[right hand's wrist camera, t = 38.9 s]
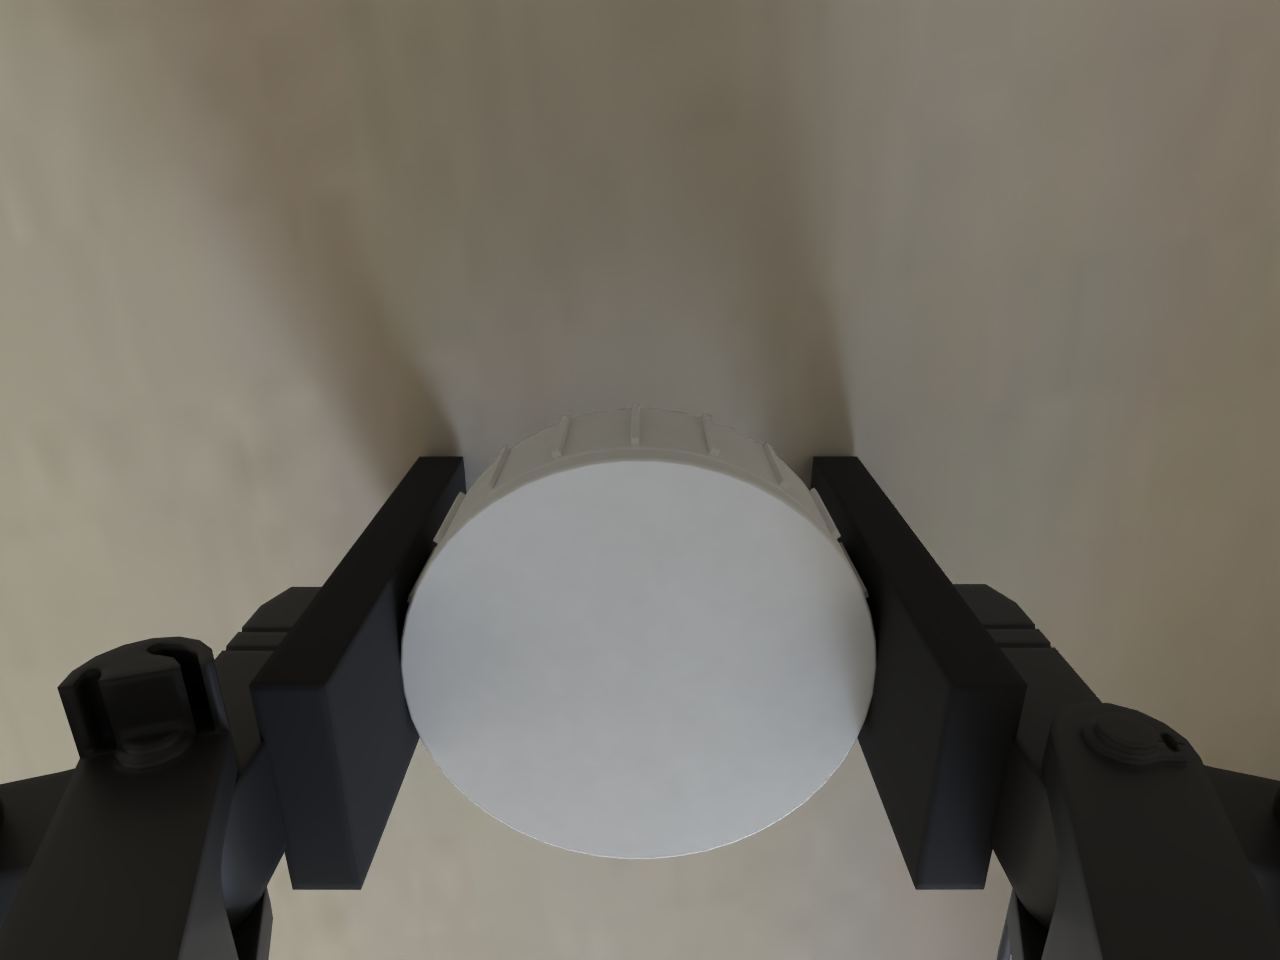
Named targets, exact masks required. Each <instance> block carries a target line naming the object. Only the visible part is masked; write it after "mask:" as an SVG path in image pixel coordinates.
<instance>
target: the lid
mask: <svg viewBox="0 0 1280 960" xmlns="http://www.w3.org/2000/svg"><path fill="white" fill-rule="evenodd" d="M840 536H841V535H840V533H839V531H838V529H837V528H836V526H835V524H834V522H833V520H832V518H831V516H830V515H829V513H828V511H827V509H826V507H825V505H824V503H823V501H822V500H821V498H820V496H819V494H818V492H817V491H816V489H815V488H812V489H811V490H808V488H807V487H806V486H805V484H804V483H803V482H802V480H801V479H800V478H799V477H798V476H797V475H796V474H795V473H794V472H793V471H792V470H791V469H790V468H789V467H788V466H787V465H786V464H785V463H784V462H783V461H782V460H781V459H779V458H778V457H777V456H776V454H775V452H774V450H773V447H772V446H771V445H769V444H768V443H766V444H765V445H764V446H762V445H761V444H759V443H758V442H756V441H754V440H752V439H751V438H749V437H747V436H745V435H743V434H742V433H740V432H738V431H736V430H734V429H731V428H729V427H726V426H724V425H721V424H719V423H716V422H714V421H712V420H711V416H710V415H707V414H703V415H702V418H701V417H697V416H693V415H689V414H685V413H681V412H673V411H665V410H657V409H640V405H639V404H638V405H632V409H620V410H613V411H605V412H597V413H592V414H588V415H584V416H581V417H577V418H573V419H570V417H569V415H567V416H564V417H562V418H561V421H560V423H558V424H556V425H553V426H551V427H548V428H546V429H543V430H541V431H539V432H538V433H536V434H534V435H532V436H530V437H529V438H527V439H525V440H523V441H522V442H520V443H518V444H516V445H515V446H514V447H512V448H511V449H509V448H508V447H507V446H505V447H504V448H503V449H501V451H500V453H499V455H498V457H497V459H496V460H495V461H494V462H493V463H492V464H491V465H490V466H489V467H488V468H487V469H486V470H485V471H484V472H483V473H482V474H481V475H480V476H479V477H478V478H477V480H476V481H475V482H474V484H473V485H472V486H471V488H470V489H469V490H468V492H467V493H466V494H464V493H462V492H460V493H459V494H458V496H457V497H456V499H455V501H454V503H453V505H452V507H451V508H450V510H449V512H448V514H447V516H446V518H445V519H444V521H443V523H442V525H441V527H440V529H439V530H438V532H437V534H436V536H435V538H434V540H433V541H434V542H436V543H438V545H437V547H434V549H433V551H432V553H431V555H430V557H429V558H428V560H427V562H426V564H425V566H424V568H423V570H422V572H421V573H420V575H419V577H418V579H417V581H416V583H415V585H414V587H413V589H412V590H411V592H410V594H409V596H408V601H407V602H408V603H409V606H408V609H407V612H406V616H405V622H404V627H403V632H402V638H401V673H402V681H403V689H404V695H405V698H406V701H407V705H408V708H409V712H410V715H411V719H412V721H413V723H414V725H415V727H416V730H417V732H418V734H419V736H420V738H421V741H422V743H423V744H424V746H425V747H426V749H427V750H428V752H429V754H430V755H431V757H432V758H433V760H434V761H435V763H436V764H437V766H438V767H439V768H440V769H441V770H442V772H443V773H444V774H445V775H446V776H447V778H448V779H449V780H450V781H451V782H452V784H453V785H454V786H456V787H457V788H458V789H459V790H460V791H461V792H462V793H463V794H464V795H465V796H466V797H467V798H468V799H470V800H471V801H472V802H473V803H474V804H476V805H477V806H478V807H480V808H481V809H483V810H484V811H485V812H487V813H488V814H489V815H491V816H492V817H494V818H495V819H497V820H499V821H500V822H502V823H504V824H506V825H507V826H509V827H511V828H513V829H515V830H516V831H518V832H520V833H523V834H525V835H527V836H530V837H532V838H534V839H537V840H539V841H541V842H544V843H547V844H550V845H553V846H557V847H560V848H563V849H566V850H570V851H574V852H579V853H584V854H589V855H594V856H602V857H612V858H622V859H656V858H666V857H676V856H683V855H688V854H693V853H698V852H703V851H708V850H711V849H714V848H717V847H721V846H724V845H727V844H730V843H734V842H736V841H738V840H741V839H743V838H745V837H748V836H750V835H752V834H755V833H757V832H759V831H761V830H763V829H765V828H766V827H768V826H770V825H772V824H773V823H775V822H777V821H779V820H781V819H782V818H784V817H785V816H787V815H788V814H789V813H791V812H792V811H793V810H795V809H796V808H798V807H799V806H800V805H802V804H803V803H805V802H806V801H807V800H808V799H809V798H810V797H811V796H812V795H813V794H814V793H815V792H816V791H817V790H819V789H820V788H821V787H822V786H823V785H824V784H825V783H826V782H827V780H828V779H829V778H830V777H831V776H832V774H833V773H834V772H835V771H836V770H837V768H838V767H839V766H840V765H841V763H842V762H843V760H844V759H845V757H846V756H847V754H848V752H849V751H850V749H851V748H852V746H853V745H854V743H855V741H856V739H857V737H858V735H859V732H860V730H861V728H862V726H863V724H864V721H865V719H866V716H867V713H868V709H869V706H870V702H871V699H872V695H873V689H874V681H875V674H876V660H877V659H876V637H875V632H874V626H873V621H872V615H871V612H870V609H869V606H868V603H867V600H866V598H868V597H869V596H868V592H867V589H866V588H865V586H864V584H863V582H862V580H861V578H860V576H859V574H858V572H857V571H856V569H855V567H854V565H853V563H852V561H851V559H850V557H849V555H848V554H847V552H846V550H845V548H844V546H843V544H842V542H841V543H839V542H838V540H837V538H839V537H840Z"/></svg>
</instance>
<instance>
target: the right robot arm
mask: <svg viewBox="0 0 1280 960" xmlns="http://www.w3.org/2000/svg"><path fill="white" fill-rule="evenodd" d="M812 488H815V489H816V491H817V492H818V494H819V496H820V498H821V500H822V501H823V503H824V505H825V507H826V509H827V511H828V513H829V515H830V516H831V518H832V520H833V522H834V524H835V526H836V528H837V529H838V531H839V533H840V535H841V536H840V537H839V538H837V540H838V542H839V543H841V542H842V544H843V546H844V548H845V550H846V552H847V554H848V555H849V557H850V559H851V561H852V563H853V565H854V567H855V569H856V571H857V572H858V574H859V576H860V578H861V580H862V582H863V584H864V586H865V588H866V589H867V592H868V596H869V597H868V598H866V600H867V603H868V606H869V609H870V612H871V615H872V621H873V626H874V632H875V637H876V659H877V660H876V674H875V681H874V689H873V695H872V699H871V702H870V706H869V709H868V713H867V716H866V719H865V721H864V724H863V726H862V728H861V730H860V732H859V735H858V737H857V738H858V740H859V743H860V746H861V748H862V751H863V753H864V756H865V759H866V761H867V764H868V766H869V769H870V772H871V774H872V777H873V779H874V782H875V785H876V787H877V790H878V792H879V795H880V798H881V800H882V803H883V805H884V808H885V811H886V813H887V816H888V818H889V821H890V824H891V826H892V829H893V831H894V834H895V837H896V839H897V842H898V844H899V847H900V850H901V852H902V855H903V857H904V860H905V863H906V865H907V868H908V870H909V873H910V876H911V878H912V881H913V883H914V886H915V889H916V890H934V889H984V886H985V882H986V877H987V872H988V868H989V863H990V858H991V853H992V849H993V850H994V852H995V854H996V856H997V858H998V860H999V862H1000V864H1001V866H1002V868H1003V869H1004V871H1005V873H1006V875H1007V877H1008V879H1009V881H1010V883H1011V885H1012V887H1013V890H1012V894H1011V898H1010V903H1009V907H1008V911H1007V915H1006V920H1005V924H1004V928H1003V933H1002V937H1001V941H1000V946H999V950H998V956H997V960H1009V959H1010V955H1011V956H1012V960H1280V781H1277V780H1272V779H1267V778H1262V777H1258V776H1253V775H1248V774H1243V773H1238V772H1233V771H1228V770H1223V769H1218V768H1213V767H1209V766H1206V765H1203V762H1202V760H1201V758H1200V756H1199V755H1198V754H1197V753H1196V751H1195V750H1194V749H1193V747H1192V746H1191V745H1190V743H1189V742H1188V741H1187V740H1186V739H1185V738H1184V737H1182V736H1181V735H1180V734H1178V733H1177V732H1176V731H1174V730H1173V729H1172V728H1170V727H1169V726H1167V725H1166V724H1165V723H1163V722H1160V721H1158V720H1156V719H1154V718H1152V717H1150V716H1148V715H1145V714H1143V713H1141V712H1139V711H1136V710H1133V709H1129V708H1125V707H1121V706H1118V705H1114V704H1110V703H1102V702H1101V701H1100V700H1099V699H1098V697H1097V696H1096V695H1095V694H1094V693H1093V692H1092V691H1091V689H1090V688H1089V687H1088V686H1087V685H1086V684H1085V682H1084V681H1083V680H1082V679H1081V678H1080V677H1079V675H1078V674H1077V673H1076V672H1075V671H1074V670H1073V668H1072V667H1071V666H1070V665H1069V664H1068V663H1067V661H1066V660H1065V659H1064V658H1063V657H1062V656H1061V654H1060V653H1059V652H1058V651H1057V650H1056V649H1055V648H1051V645H1050V642H1049V641H1048V639H1047V638H1046V637H1045V636H1044V635H1043V634H1042V632H1041V631H1040V630H1039V629H1035V624H1034V623H1033V622H1032V621H1031V620H1030V618H1029V617H1028V616H1027V615H1026V614H1025V613H1024V611H1023V610H1022V609H1021V608H1020V607H1019V606H1018V605H1017V603H1015V602H1014V601H1012V600H1011V599H1009V598H1007V597H1006V596H1004V595H1002V594H1001V593H999V592H997V591H996V590H994V589H992V588H991V587H989V586H988V585H986V584H952V583H951V582H950V580H949V579H948V578H947V576H946V575H945V574H944V572H943V571H942V570H941V568H940V567H939V566H938V564H937V563H936V562H935V560H934V559H933V558H932V556H931V555H930V554H929V552H928V551H927V550H926V548H925V547H924V546H923V544H922V543H921V542H920V540H919V539H918V537H917V536H916V535H915V533H914V532H913V531H912V529H911V528H910V527H909V525H908V524H907V523H906V521H905V520H904V519H903V517H902V516H901V515H900V513H899V512H898V511H897V509H896V508H895V507H894V505H893V504H892V503H891V501H890V500H889V499H888V497H887V496H886V495H885V493H884V492H883V491H882V489H881V488H880V487H879V485H878V484H877V483H876V481H875V480H874V479H873V477H872V476H871V475H870V473H869V472H868V471H867V469H866V468H865V467H864V465H863V464H862V463H861V461H860V460H859V459H858V457H814V458H813V470H812V481H811V489H812ZM460 492H462V493H464V494H466V484H465V473H464V461H463V457H419V458H418V460H417V461H416V462H415V464H414V465H413V466H412V468H411V469H410V470H409V472H408V473H407V474H406V476H405V477H404V478H403V480H402V481H401V482H400V484H399V485H398V486H397V488H396V489H395V490H394V492H393V493H392V494H391V496H390V497H389V498H388V500H387V501H386V502H385V504H384V505H383V506H382V508H381V509H380V510H379V512H378V513H377V514H376V516H375V517H374V518H373V520H372V521H371V522H370V524H369V525H368V526H367V528H366V529H365V530H364V532H363V533H362V534H361V536H360V537H359V538H358V540H357V541H356V542H355V544H354V545H353V546H352V548H351V549H350V550H349V552H348V553H347V554H346V556H345V557H344V558H343V560H342V561H341V562H340V564H339V565H338V566H337V568H336V569H335V570H334V572H333V573H332V574H331V576H330V577H329V578H328V580H327V581H326V582H325V584H324V585H323V586H322V587H291V588H289V589H287V590H286V591H284V592H283V593H281V594H279V595H278V596H276V597H274V598H273V599H271V600H270V601H268V602H266V603H265V604H263V605H261V606H260V607H259V609H258V610H257V611H256V612H255V613H254V614H253V616H252V617H251V618H250V619H249V620H248V621H247V623H246V624H245V625H244V626H243V627H242V632H238V633H237V634H236V635H235V637H234V638H233V639H232V640H231V641H230V642H229V644H228V645H227V646H226V647H227V648H226V651H222V652H221V653H220V654H219V655H218V656H217V658H216V659H215V660H214V657H213V653H212V649H211V648H210V647H208V646H207V645H205V644H204V643H203V642H201V641H200V640H195V639H190V638H184V637H165V638H152V639H148V640H143V641H139V642H135V643H131V644H126V645H123V646H120V647H118V648H115V649H113V650H110V651H108V652H106V653H103V654H101V655H98V656H96V657H94V658H92V659H91V660H89V661H88V662H86V663H85V664H83V665H81V666H80V667H78V668H77V669H75V670H73V671H72V672H71V673H70V674H69V675H68V676H67V678H66V679H65V680H64V681H63V682H62V683H61V684H60V685H59V686H58V687H57V688H58V691H59V694H60V697H61V700H62V703H63V706H64V709H65V713H66V716H67V719H68V722H69V725H70V728H71V731H72V734H73V737H74V740H75V744H76V747H77V750H78V753H79V756H80V760H79V762H78V764H77V766H76V768H75V769H71V770H67V771H63V772H59V773H54V774H49V775H44V776H39V777H34V778H29V779H25V780H20V781H15V782H10V783H5V784H0V960H268V958H269V949H270V940H271V931H272V922H273V916H272V909H271V903H270V898H269V894H268V890H267V885H268V883H269V881H270V879H271V877H272V875H273V873H274V871H275V869H276V867H277V865H278V863H279V861H280V859H281V857H282V856H283V854H284V852H285V856H286V860H287V865H288V870H289V874H290V879H291V883H292V888H293V889H305V890H361V888H362V885H363V883H364V880H365V878H366V875H367V872H368V870H369V867H370V865H371V862H372V859H373V857H374V854H375V852H376V849H377V846H378V844H379V841H380V839H381V836H382V833H383V831H384V828H385V826H386V823H387V821H388V818H389V815H390V813H391V810H392V808H393V805H394V802H395V800H396V797H397V795H398V792H399V789H400V787H401V784H402V782H403V779H404V776H405V774H406V771H407V769H408V766H409V763H410V761H411V758H412V756H413V753H414V750H415V748H416V745H417V743H418V740H419V738H420V736H419V734H418V732H417V730H416V727H415V725H414V723H413V721H412V719H411V715H410V712H409V708H408V705H407V701H406V698H405V695H404V689H403V681H402V673H401V638H402V632H403V627H404V622H405V616H406V612H407V609H408V606H409V603H408V602H407V601H408V596H409V594H410V592H411V590H412V589H413V587H414V585H415V583H416V581H417V579H418V577H419V575H420V573H421V572H422V570H423V568H424V566H425V564H426V562H427V560H428V558H429V557H430V555H431V553H432V551H433V549H434V547H437V545H438V543H436V542H434V541H433V540H434V538H435V536H436V534H437V532H438V530H439V529H440V527H441V525H442V523H443V521H444V519H445V518H446V516H447V514H448V512H449V510H450V508H451V507H452V505H453V503H454V501H455V499H456V497H457V496H458V494H459V493H460Z"/></svg>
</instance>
